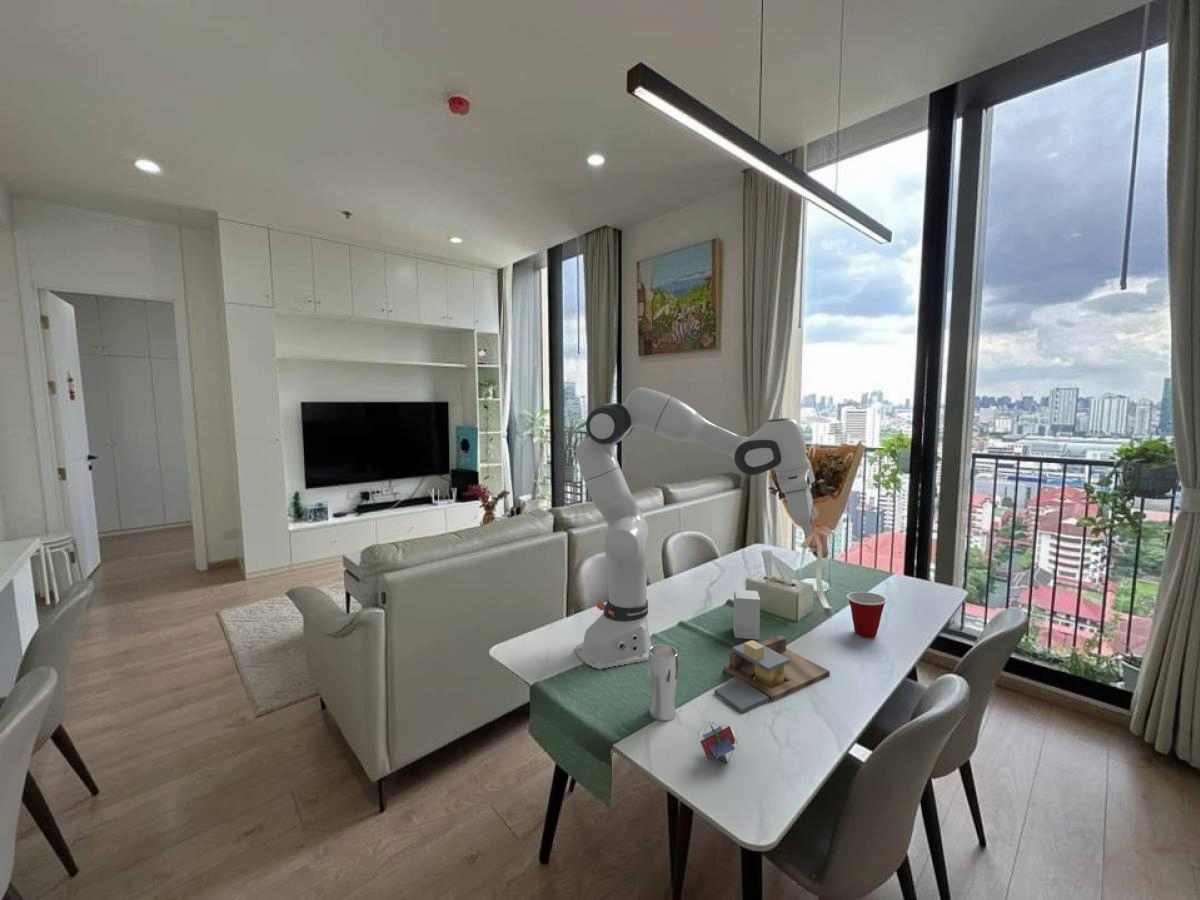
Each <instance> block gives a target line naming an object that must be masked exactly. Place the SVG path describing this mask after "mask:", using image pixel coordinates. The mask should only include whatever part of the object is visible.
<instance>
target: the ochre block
mask: <svg viewBox="0 0 1200 900" xmlns="http://www.w3.org/2000/svg"><path fill="white" fill-rule="evenodd" d="M754 678H755V679H756V680H758V681H759V682H761V683H763V684H764V685H766V686H767V687H769V688H773V687H776V686H778V685H780V684H783V683H785V682H784V666H782V667H779V668H777V669H774V670H772V671H770V672H767V671H766V670H764V669H762V668H760V667H759V666H757V665H755V677H754Z"/></svg>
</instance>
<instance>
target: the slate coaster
mask: <svg viewBox="0 0 1200 900" xmlns="http://www.w3.org/2000/svg"><path fill="white" fill-rule="evenodd" d="M713 694H714V695H715V696H717V697H718V698H720V699H721V700H722V701H724V702H725V703H727V704H728V705H729V706H731V707H732V708H734V709H735V710H737V712H739V713H741V714H743V713H745V712H747V711H750V710H752V709H754V708H757V707H758V706H759V707H760V706H762V705H764V704H765V703H768V702H770V700H769V697H768V696H766V695H764V694H763V693H761V692H760V691H758V690H757V689H755V688H754V687H752V686H750V685H749V684H747V683H746V682H744V681H743V680H741V679H740V680H738V679H737V680H735V681H733V682H729V683H727V684H726V685H723V686H720V687H717V688H715V689H714V693H713Z"/></svg>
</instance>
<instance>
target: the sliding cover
mask: <svg viewBox="0 0 1200 900" xmlns="http://www.w3.org/2000/svg"><path fill="white" fill-rule="evenodd" d="M731 649H732V652H735V653H737V654H738V655H740V656H742V657H744V658H745V659H747V660H749V661H750V662H752V663H754V664H755V665H757V666H759V667H760V668H762V669H764V670H766V671H767V672H770V671H772V670H774V669H777V668H779V667H782V666H784V665H787V664H789V663H790V659H788V658H787V657H785V656H783V655H781V654H779V653H777V652H775V651H773V650H772V649H770V648H768V647H766V646H764V645H762V644H760V642H759V641H757V640H756V639H750V640H748V641H746V642H743V643H741V644H737V645H736V646H732V648H731Z"/></svg>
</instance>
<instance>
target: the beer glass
mask: <svg viewBox="0 0 1200 900" xmlns="http://www.w3.org/2000/svg"><path fill="white" fill-rule="evenodd" d="M648 655H649V657H648V660H647V674H648V675H647V676H648V683H649V689H650V693H651V695H650V697H651V699H650V700H651V701H650V705H649V706H650V707H649V714H650V716H651V718H653V719H655V720H656V721H660V722H667V721H672V720H674V719H675V717H676V715H677V709H676V703H675V696H676V689H677V685H678V680H679V679H678V678H679V657H678V656H679V654H678V650H677V649H676V648H675V647H674V646H672V645H670V644H663V643H661V644H660V643H659V644H655V645H652V647H651V648H650V649H649V654H648Z"/></svg>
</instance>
